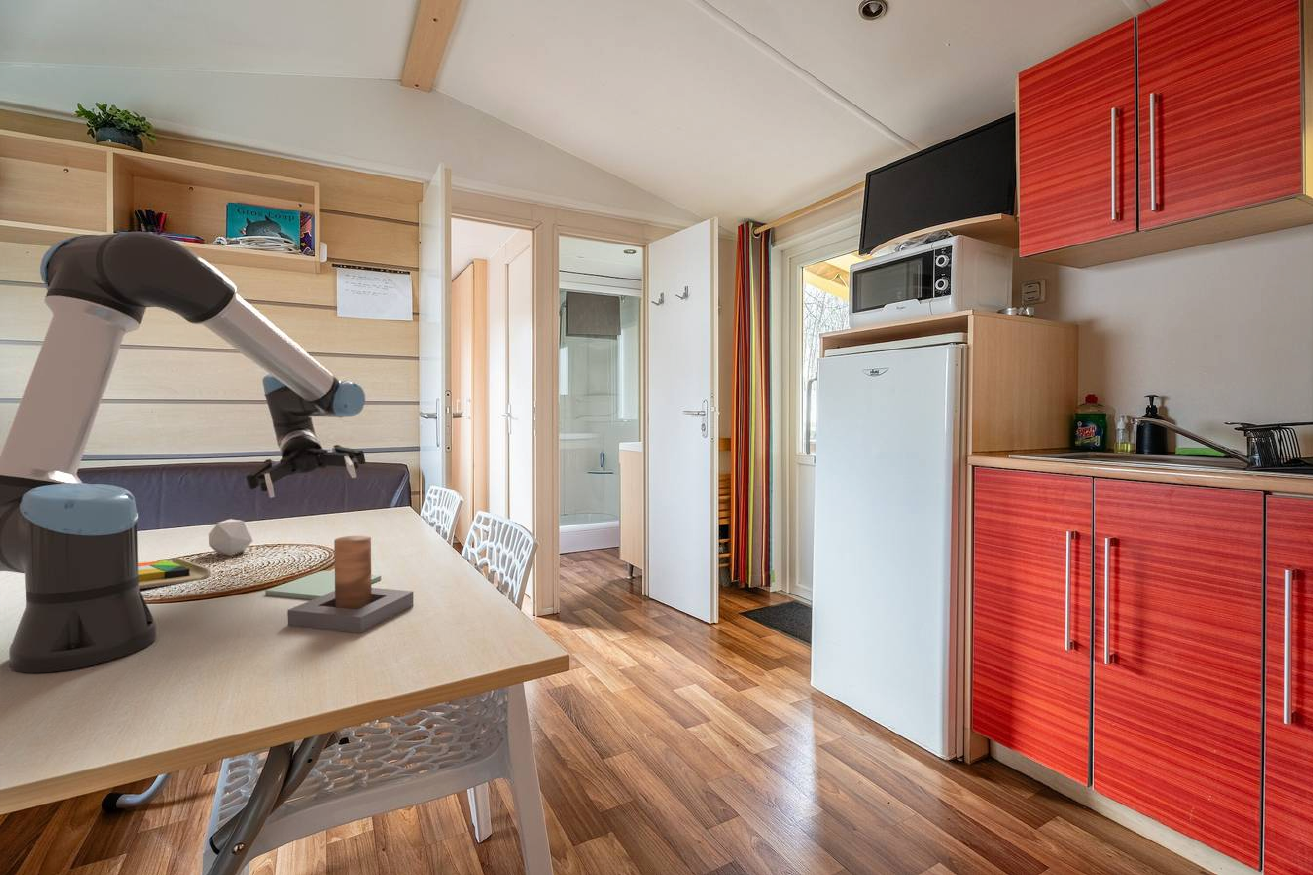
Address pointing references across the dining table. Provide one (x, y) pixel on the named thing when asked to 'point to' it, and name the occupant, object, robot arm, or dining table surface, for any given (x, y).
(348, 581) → the brown wooden cylinder
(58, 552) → the robot arm
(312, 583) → the board
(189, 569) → the wooden puzzle
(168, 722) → the dining table surface
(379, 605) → the pocket plate
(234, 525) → the die
